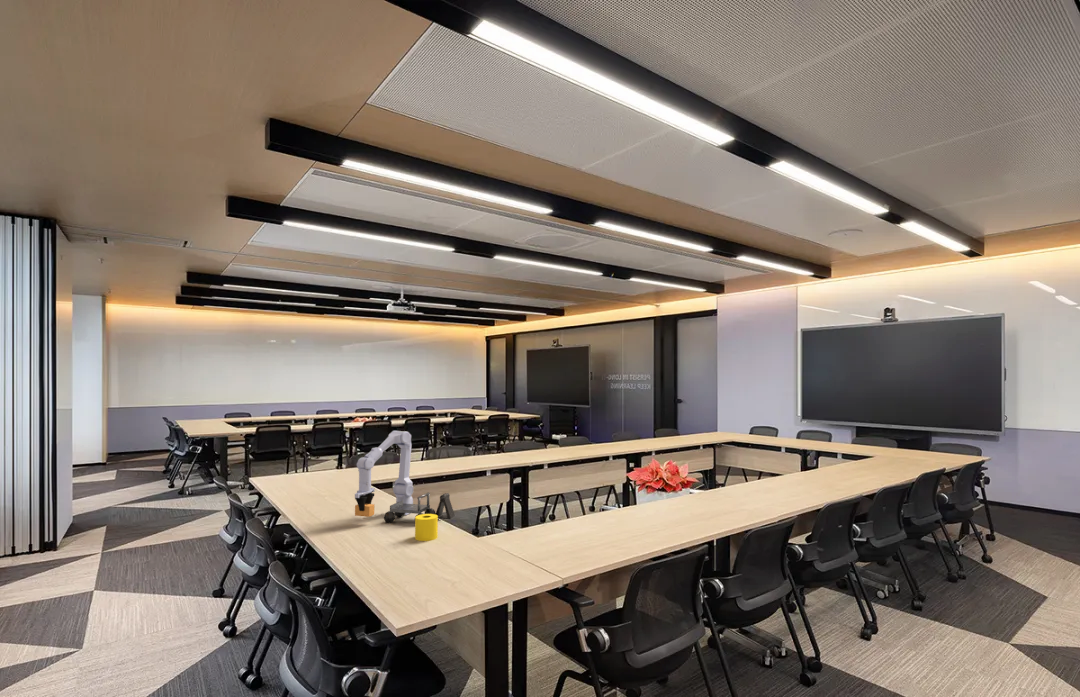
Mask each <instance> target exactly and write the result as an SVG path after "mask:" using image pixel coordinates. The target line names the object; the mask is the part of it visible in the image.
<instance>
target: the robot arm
mask: <svg viewBox="0 0 1080 697" xmlns="http://www.w3.org/2000/svg"><path fill="white" fill-rule="evenodd" d="M394 444H395V445H396V446H398V447H399V448H400V456H399V468H398V478H397V479H396V480H394V481H395V482H394V485H393V489H392V491H393V494H394V495H395V497H396V498H395V499H396V500H395V503H397V502H399V501H403V503H404V504H414V499H413V496H412V495H413V493H414V486H413V485H414V484H413V483H414V482H413V481H412V480H411V479H410V472H411V471H410V469H411V459H412V458H411V457H412V445H413V444H412V434H411V433H410V432H409V431H405V430H404V431H401V430H392V431H391V432H390V433H389V434H388V436H387V437H386V438H385V440H383V442H382V443H381V444H380V445H379V446H378V447H372V448H371V450H370V451H369V452H368V453H366V454H364V457H363V456H362V457H360V458H359V459H358V460H357V462H356V467H357V469H358V490H356V492H355V493H354V500H355V501H356V503H357V504H358V506H359V510H360V511H364V509H365V504H372V502H373V499H374V496H375V487H372V469H373V468H374V466H375V463H376V462H377V461H379V459H380V458H381V457H383V452H385V451H386V450H387V449H389V448H390V447H391V446H392V445H394ZM394 514H395V513H394ZM410 514H411V513H405V515H404V516H408V515H410Z"/></svg>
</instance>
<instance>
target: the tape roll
mask: <svg viewBox="0 0 1080 697" xmlns="http://www.w3.org/2000/svg"><path fill="white" fill-rule="evenodd" d="M415 516H416V515H415ZM414 523H415V524H414V525H415V526H414V540H416V541H419V542H429V541H430V542H431V541H434V540H437V539H438V538H439V536H438V535H439V534H438V529H439V526H438V524H439V522H438V516H437V515H435V514H424V513H423V514H422V515H418V516H416V517H414Z"/></svg>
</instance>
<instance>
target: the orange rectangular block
mask: <svg viewBox="0 0 1080 697" xmlns="http://www.w3.org/2000/svg"><path fill="white" fill-rule="evenodd" d="M373 515H375V503H374V504H372V503H371V504H365V509H364V511H360V510H359V506H358V503H357V504H355V506H354V516H356V517H367V518H369V517H372V516H373Z"/></svg>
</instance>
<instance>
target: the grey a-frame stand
mask: <svg viewBox="0 0 1080 697" xmlns="http://www.w3.org/2000/svg"><path fill="white" fill-rule="evenodd" d="M444 510H445V514H443V512H444ZM435 513H436V515H437V516H438V519H439V520H440V519H441V520H442V519H443V520H451V519H453V518H454V517H455V516H456V514H455V512H454V508H453V506H452V502H451V500H450V493H449V492H444V493H442V494H441V495H440V496H439V503H438V505H437V509H436V510H435Z"/></svg>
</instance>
